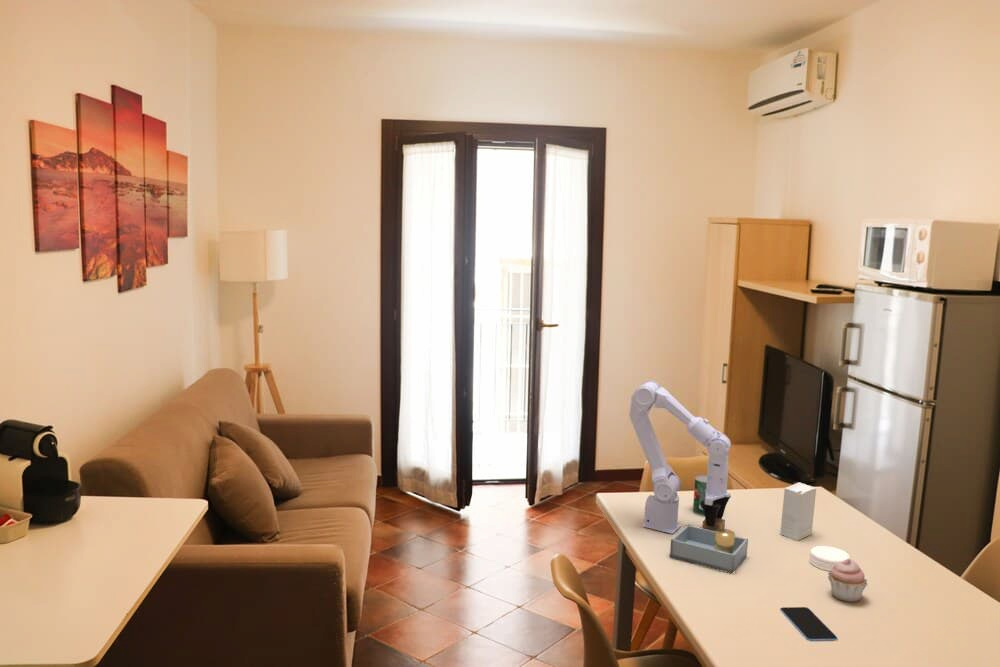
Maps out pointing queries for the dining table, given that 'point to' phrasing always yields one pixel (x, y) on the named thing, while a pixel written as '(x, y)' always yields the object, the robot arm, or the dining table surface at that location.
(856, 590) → the cupcake
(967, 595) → the dining table surface
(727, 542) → the brass cylinder
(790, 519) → the skincare box
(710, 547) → the tote
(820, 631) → the smartphone
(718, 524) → the walnut cube
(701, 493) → the canned tomato
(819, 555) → the white round disc
